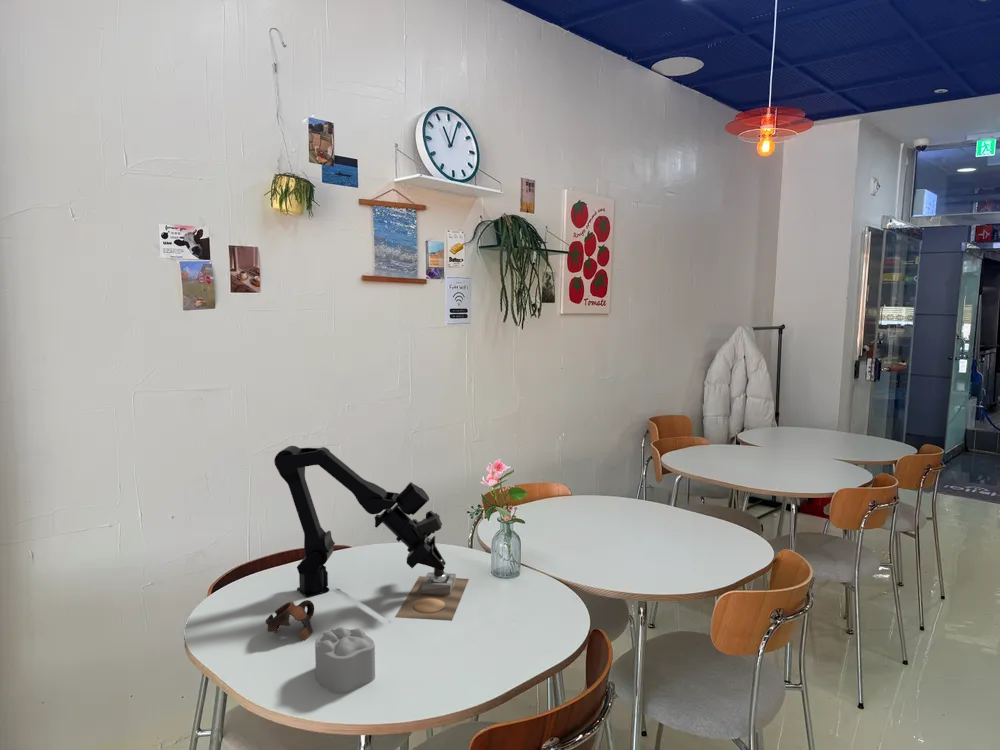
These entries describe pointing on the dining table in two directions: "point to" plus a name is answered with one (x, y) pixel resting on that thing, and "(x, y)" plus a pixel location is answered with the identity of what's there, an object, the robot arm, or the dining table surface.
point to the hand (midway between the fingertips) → (444, 566)
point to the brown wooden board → (433, 598)
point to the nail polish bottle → (439, 574)
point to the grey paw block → (344, 659)
